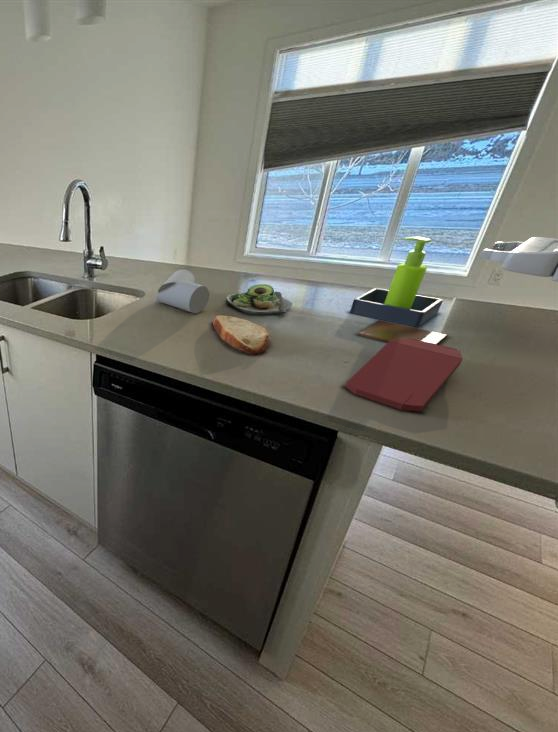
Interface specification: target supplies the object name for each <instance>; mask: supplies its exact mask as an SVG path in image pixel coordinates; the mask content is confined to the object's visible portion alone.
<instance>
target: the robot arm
mask: <svg viewBox="0 0 558 732" xmlns="http://www.w3.org/2000/svg"><path fill="white" fill-rule="evenodd" d="M478 258H480V259H484V260H491V261H494V262H497V263H502V265H501V269H502V270H505V271H508V272H513V273H516V274H523V275H529V276H535V277H542V278H550V281H552V282H556V283H557V282H558V238H553V237H544V236H543V237H542V236H533V237H530V238H529V239H527V240H526V241H507V242H506V241H497V242H495V243H494V244H493V246H492V248H490V249H489V248H485V249H483V250H482V251H481V252H480V254H479V257H478Z"/></svg>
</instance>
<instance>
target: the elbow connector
mask: <svg viewBox="0 0 558 732" xmlns="http://www.w3.org/2000/svg"><path fill="white" fill-rule="evenodd" d="M155 297H156V299H155V300H156V301H157V302H159V303H162V304H165V305H168V306H171V307H174V308H177V309H179V310H182V311H185V312H189V313H192V314H198V313H201V312H202V311H203V310H204V309H205V308H206V306H207V304H208V303H209V299H210V291H209V288H208V287H207V286H206V285H203V284H199V283H196V278H195V275H194V274H193V273H192V272H191V271H189V270H188V269H178V270H176V271H174V272H173V273H172V274H171V275H170V277H168V278H167V280H166V281H164V283H162V284H161V285H160V287H159V288H158V290H157V294H156V296H155Z"/></svg>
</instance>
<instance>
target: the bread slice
mask: <svg viewBox="0 0 558 732" xmlns="http://www.w3.org/2000/svg"><path fill="white" fill-rule="evenodd" d="M212 324H213V328H214V330H215V331H216V333H217V334H218V336H219V337H220V339H221V340H222V342H223V341H224V343H227V345H228V346H230V347H232V348H233V349H235V350H236V351H238V352H241V353H245V354H248V355H258V354H259V355H260V354H263V353H265V351H266V350H267V349H268V347H269V346H270V345H271V341H272V340H271V337H270V334H269V332H268V330H267V329H266V328H264V327H263V326H262V325H260V324H257V323H254V322H252V321H250V320H248V319H245V318H241V317H237V316H231V315H230V316H229V315H216V317H215V318H214V320H213V322H212Z"/></svg>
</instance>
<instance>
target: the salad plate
mask: <svg viewBox="0 0 558 732" xmlns="http://www.w3.org/2000/svg"><path fill="white" fill-rule="evenodd" d="M282 295H283V294H282V293H281V291H275V290H274V287H273V286H272V285H270V284H266V283H265V284H262V283H260V284H256V285H252V286H250V287H248V288H247V291H246V292H241V293H231V294H228V295H227V296H226V298H225V299H226V300H225V301H226V303H227V304H228V305H229V306H231V307H233V308H234V309H236V310H238V311H240V312H243V313H245V314H248V315H255V316H267V315H277V314H280V313H281V314H282V313H287V310H290V309H291V308H292V307H293V305H294V303H293V302H292V301H290V300H289V299H286V298H284V297H283V296H282Z"/></svg>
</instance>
